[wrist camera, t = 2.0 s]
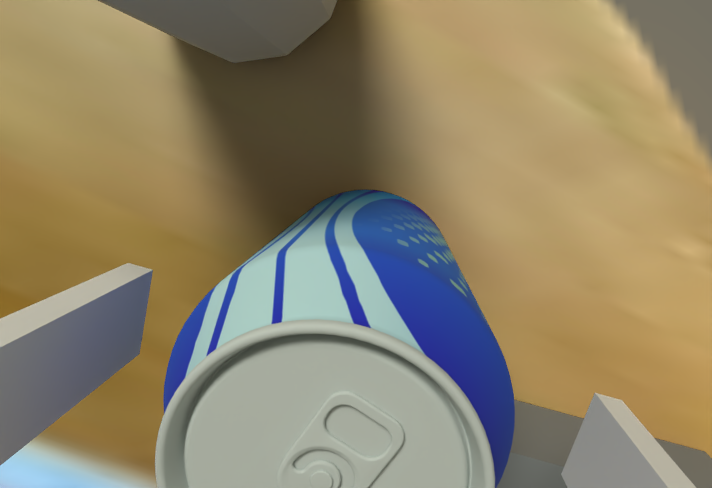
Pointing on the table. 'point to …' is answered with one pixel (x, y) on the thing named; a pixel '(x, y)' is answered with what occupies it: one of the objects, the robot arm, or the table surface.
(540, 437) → the riser
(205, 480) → the beer can
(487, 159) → the table surface
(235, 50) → the jar
